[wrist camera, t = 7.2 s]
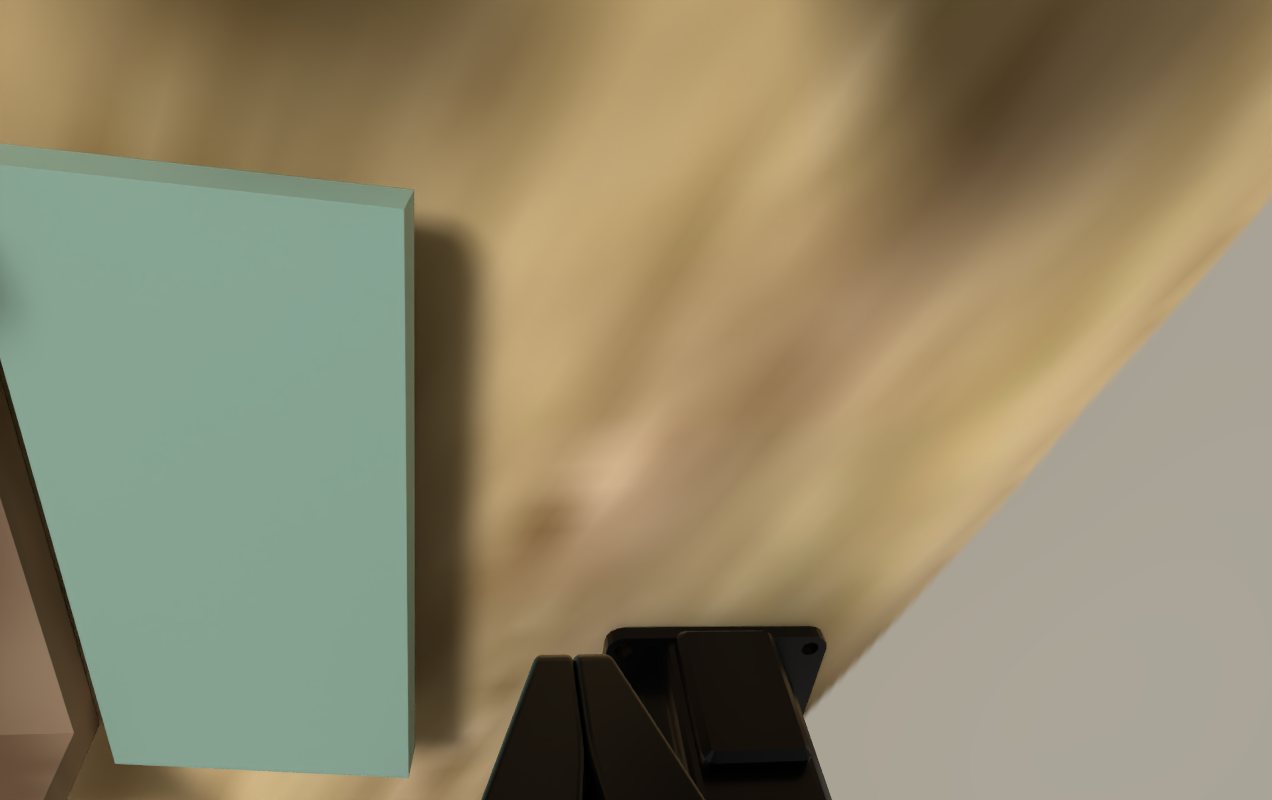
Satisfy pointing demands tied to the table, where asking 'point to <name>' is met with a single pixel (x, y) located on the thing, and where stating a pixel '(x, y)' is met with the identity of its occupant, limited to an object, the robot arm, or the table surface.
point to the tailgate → (222, 451)
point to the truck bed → (35, 648)
